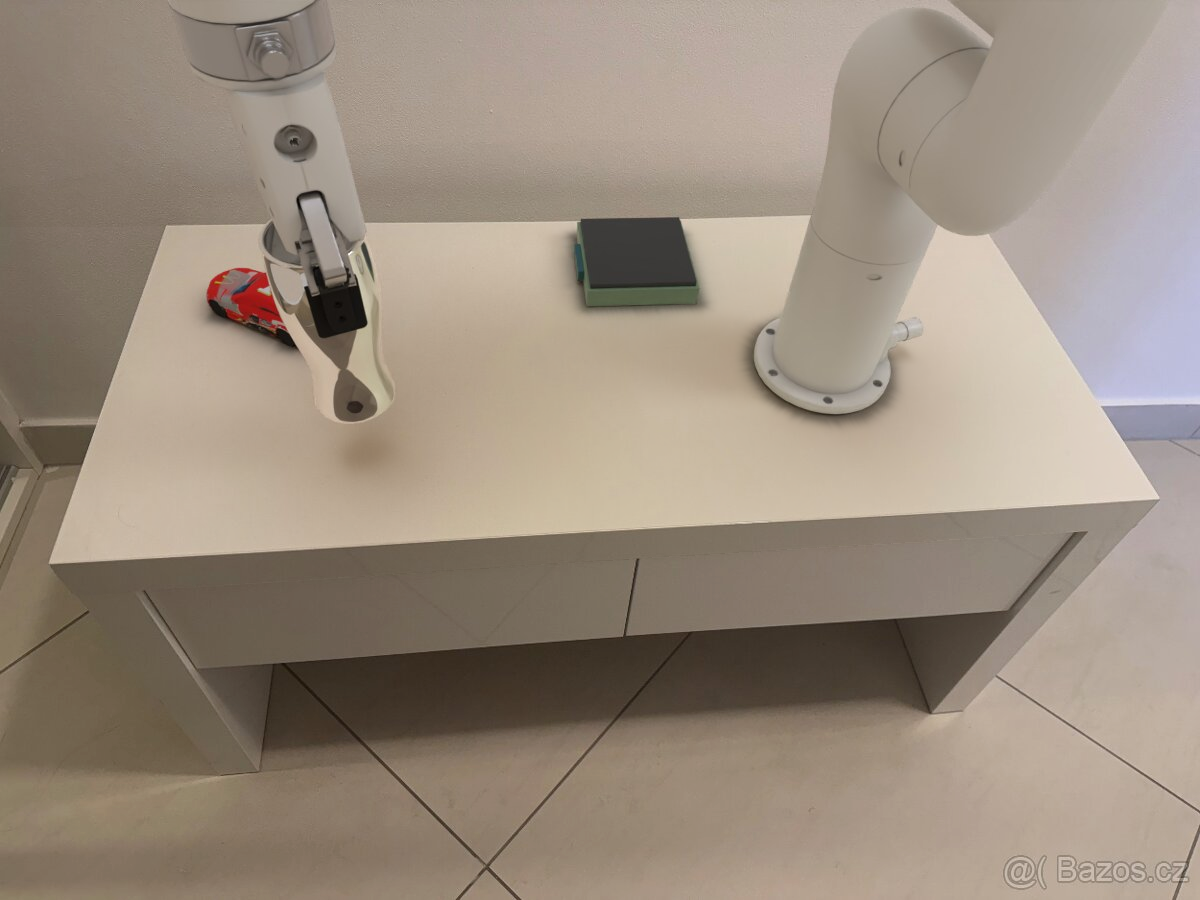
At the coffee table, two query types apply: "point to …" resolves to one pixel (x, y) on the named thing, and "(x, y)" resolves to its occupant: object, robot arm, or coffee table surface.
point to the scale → (634, 262)
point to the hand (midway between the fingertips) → (328, 292)
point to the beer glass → (342, 362)
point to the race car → (247, 301)
